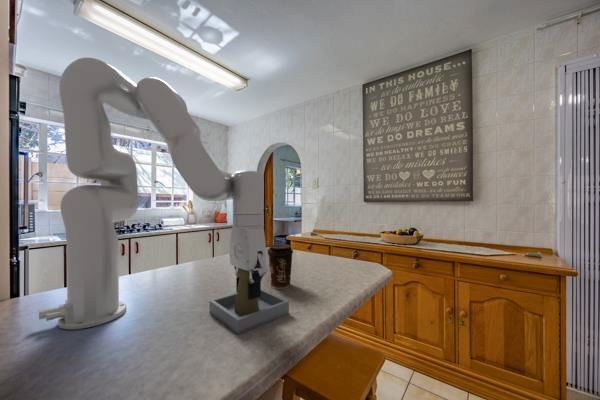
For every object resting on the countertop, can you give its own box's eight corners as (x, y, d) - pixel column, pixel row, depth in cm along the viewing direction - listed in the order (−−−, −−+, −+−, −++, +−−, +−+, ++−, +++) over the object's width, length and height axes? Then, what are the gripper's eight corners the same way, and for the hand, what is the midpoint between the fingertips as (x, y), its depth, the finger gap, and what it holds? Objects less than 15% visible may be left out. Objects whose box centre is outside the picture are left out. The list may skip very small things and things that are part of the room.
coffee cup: (264, 282, 84) (264, 244, 84) (288, 279, 87) (288, 242, 87) (271, 291, 76) (270, 249, 76) (296, 288, 79) (296, 247, 79)
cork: (256, 315, 59) (257, 270, 58) (230, 314, 59) (232, 269, 59) (260, 303, 65) (262, 262, 65) (238, 302, 65) (239, 261, 65)
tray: (238, 334, 52) (238, 320, 52) (209, 312, 62) (209, 300, 62) (288, 313, 62) (288, 301, 61) (257, 297, 72) (256, 286, 72)
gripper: (218, 219, 65) (218, 289, 65) (254, 225, 53) (254, 310, 53) (243, 218, 70) (243, 282, 70) (281, 222, 58) (281, 300, 58)
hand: (248, 293), depth 62 cm, fingers open, 4 cm apart
